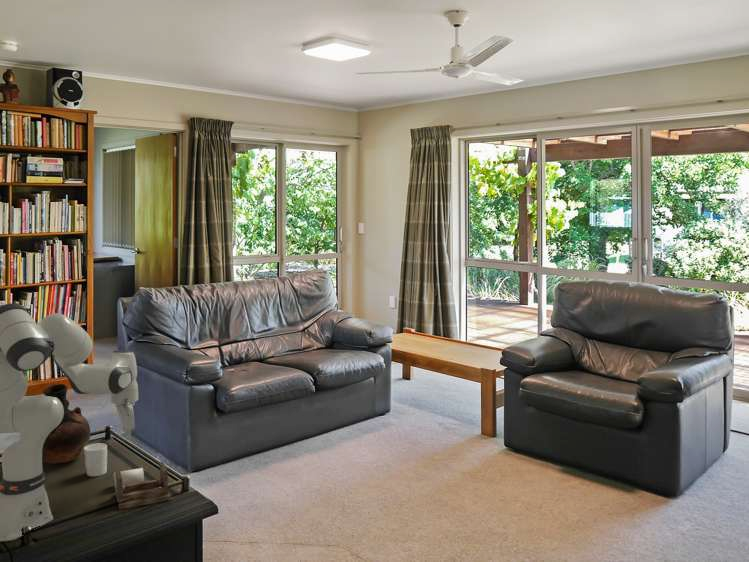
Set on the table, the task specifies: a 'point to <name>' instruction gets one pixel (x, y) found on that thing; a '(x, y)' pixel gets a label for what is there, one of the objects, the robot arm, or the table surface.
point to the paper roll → (131, 477)
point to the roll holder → (143, 490)
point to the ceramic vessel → (65, 431)
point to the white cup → (96, 459)
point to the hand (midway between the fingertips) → (126, 434)
